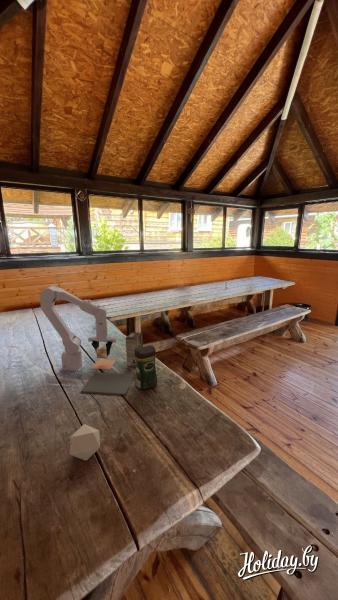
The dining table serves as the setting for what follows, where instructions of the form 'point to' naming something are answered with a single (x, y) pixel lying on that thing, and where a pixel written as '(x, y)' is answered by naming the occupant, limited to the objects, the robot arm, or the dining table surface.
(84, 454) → the die
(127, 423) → the dining table surface
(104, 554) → the dining table surface
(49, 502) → the dining table surface
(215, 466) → the dining table surface
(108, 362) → the tile
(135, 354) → the coffee jar
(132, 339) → the coffee box
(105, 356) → the birch block
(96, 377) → the mat
